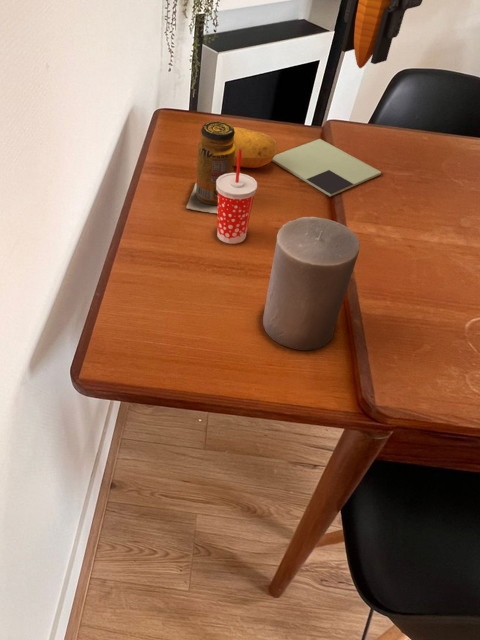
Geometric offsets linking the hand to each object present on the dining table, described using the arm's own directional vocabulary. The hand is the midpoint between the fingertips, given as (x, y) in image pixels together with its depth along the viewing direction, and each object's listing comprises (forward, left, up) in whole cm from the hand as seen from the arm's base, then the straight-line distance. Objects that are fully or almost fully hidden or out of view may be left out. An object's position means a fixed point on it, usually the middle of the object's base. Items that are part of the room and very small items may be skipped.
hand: (363, 55), depth 78 cm
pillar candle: (-21, +29, -22) cm, 42 cm away
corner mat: (+7, -6, -22) cm, 24 cm away
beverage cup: (0, +23, -22) cm, 32 cm away
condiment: (+10, +19, -22) cm, 31 cm away
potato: (+17, +7, -22) cm, 29 cm away
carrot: (0, 0, -2) cm, 2 cm away
